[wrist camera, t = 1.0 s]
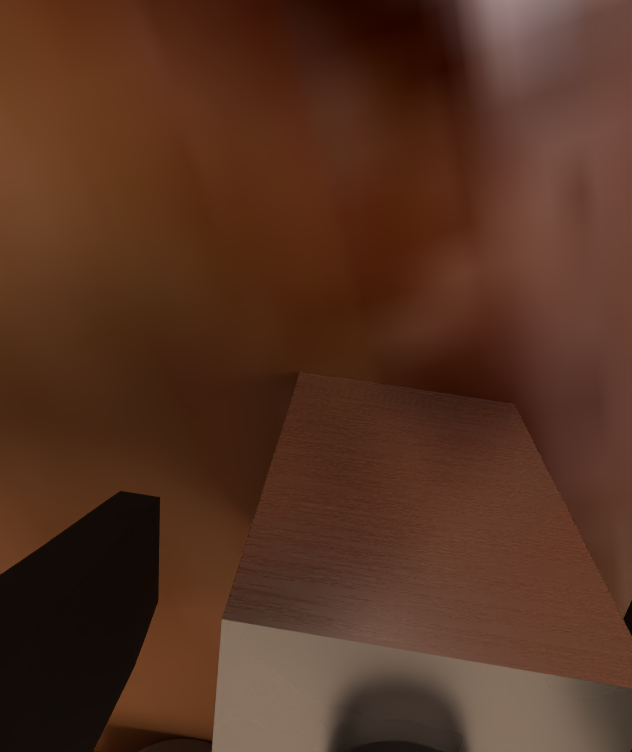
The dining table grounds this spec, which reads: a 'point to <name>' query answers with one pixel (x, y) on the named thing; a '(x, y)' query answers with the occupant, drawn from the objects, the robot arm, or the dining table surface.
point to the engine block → (416, 589)
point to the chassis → (179, 746)
